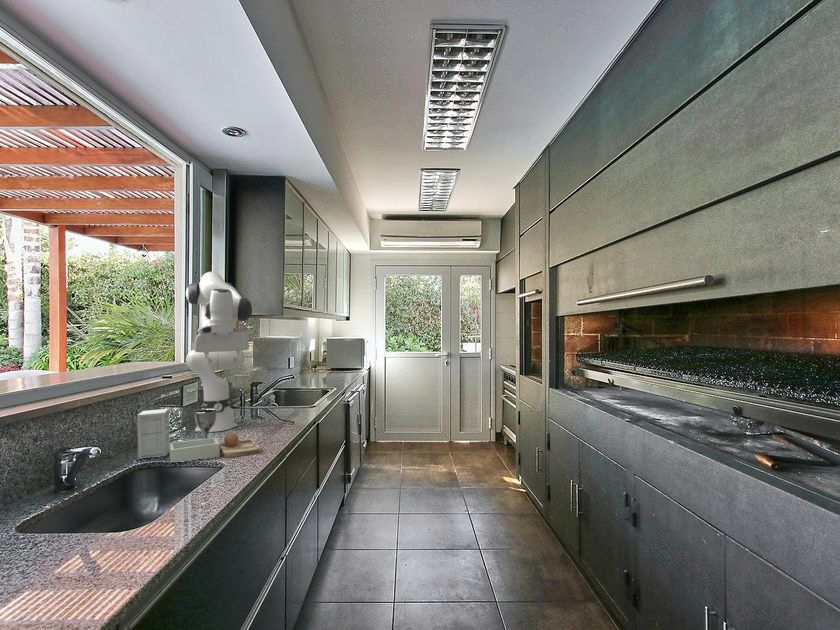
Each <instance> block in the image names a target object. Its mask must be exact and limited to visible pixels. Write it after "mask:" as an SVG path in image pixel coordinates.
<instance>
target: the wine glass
mask: <svg viewBox="0 0 840 630" xmlns="http://www.w3.org/2000/svg"><path fill="white" fill-rule="evenodd" d="M194 420H195V421H194V422H195V424H196V427H197V426H198V428H199V429H200V430H202V431H201V432H202V434H203V435H204V436H203V437H204V439H205V438H208V436H209V435H208V434H209V433H210V432H209V431H210V429H211V428H212V427H213V426H214V424H215V421H216V409H197V410H195V411H194Z"/></svg>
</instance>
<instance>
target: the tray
mask: <svg viewBox="0 0 840 630" xmlns="http://www.w3.org/2000/svg"><path fill="white" fill-rule="evenodd" d="M219 451H220V452H221V454H222V456H223V458H224V459H228V458H235V457H241V455H243V456H247V455H246V454H249V455H254V454H253V453H256V454H260V452H261V453H262V447H260V445H259V444H258V443H257V442H256V441H255V440H254V439H253V438H252V439H243V440H238V443H237V444H236V445H235V446H227V445H226V444H225V442H222V443H219Z"/></svg>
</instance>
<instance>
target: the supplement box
mask: <svg viewBox="0 0 840 630" xmlns="http://www.w3.org/2000/svg"><path fill="white" fill-rule="evenodd" d="M169 409H170V408H161V409H149V410H142V411H141V412H140V413H138V414H137V418H136V419H137V458H145V457H155V456H156V457H157V456H166V455H167V456H168V454H170V443H171V442H170V441H171V440H170V439H171V438H170V410H169ZM167 456H166V457H167Z"/></svg>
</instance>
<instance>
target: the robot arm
mask: <svg viewBox="0 0 840 630" xmlns="http://www.w3.org/2000/svg"><path fill="white" fill-rule="evenodd" d="M185 297H186V300H187V302H188V303H189V304H191V305H196V306H197V305H202V306H201V307H200V311H199V312H200V313H199V323H200V325H199V328H197V333H198V334H197V335H196V336H195V340H194V349H192V350H190V351H188V353H187V354H186V357H185V363H186V364H185V365H186V367H188V369H189V370H190V371H192V372H193V373H195V374H196V375H197V376H198V378H199V379H200V381H201V384H202V391H203V400H202V408H203V409H216V421H215V424H214V426H213V427H212V428H211V429H210V431H209V432H208V433H211V432H212V433H213V432H215V433H216V432H221V431H227V430H231V429H232V428H237V427H239V425H238V423H236V422H235V421H234V420H235V417H234V415H235V414H234V409H233V408H232V407H231V398H230V396H229V395H230V390H229V389H230V386H229V381H228V380H226V379H225V378H223V377H221V376H218V375H216V373H215V372H216V371H224V370H233V369H237V368H240V367H241V366H242V365H243V364H244V362H245V354H244V351H249V348H250V343H249V338H250V330H248V329H246V328H245V327H242V328H238V327H236V328H235V324H234V321H238V322H246V321H248V320H249V319H250V318H251V317H252V314H253V305H252V303H251V301H250V300H249V299H248V298H247V297H244V295H243V294H242V293H241V292H240V291H239V290H238V288H236V287H234V285H233V284H232V283H231V282H228V281H227V282H225V280H224V278H223V277H222V276H221V274H219V273H218V272H216V271H207V272H206V273H204V274H203V275H202V276H201V278H200V281H198V282H197V281H194V282H193V283H190V284H188V286H187V287H186V290H185ZM203 409H202V410H203ZM236 426H237V427H236ZM194 432H202V430H200V429H199V428H198V426H197V425H196V427H195V429H194Z"/></svg>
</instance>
